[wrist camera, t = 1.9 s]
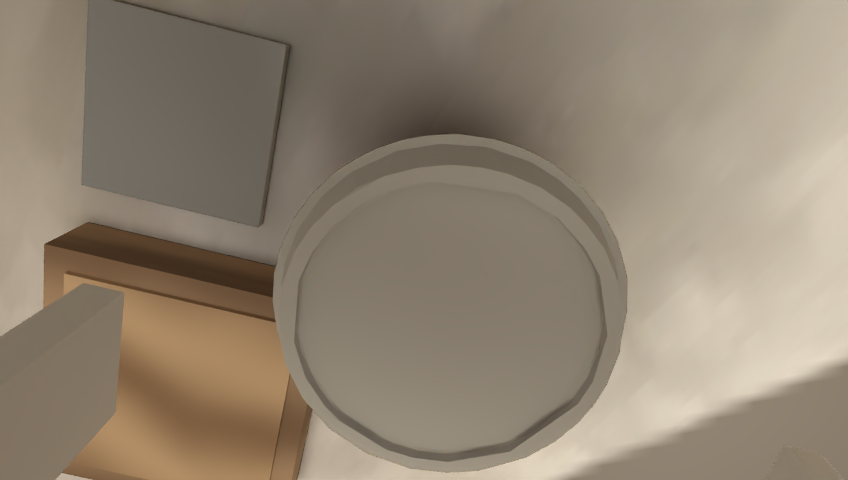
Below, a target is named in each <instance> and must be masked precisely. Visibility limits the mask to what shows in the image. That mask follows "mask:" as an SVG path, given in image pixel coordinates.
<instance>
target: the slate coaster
mask: <svg viewBox="0 0 848 480" xmlns="http://www.w3.org/2000/svg"><path fill="white" fill-rule="evenodd" d="M289 49H290V45H287V44H283V43H279V42H275V41H272V40H268V39H264V38H260V37H256V36H252V35H248V34H244V33H240V32H237V31H233V30H229V29H225V28H221V27H217V26H213V25H209V24H205V23H202V22H198V21H194V20H190V19H186V18H182V17H178V16H174V15H170V14H167V13H163V12H159V11H155V10H151V9H147V8H143V7H139V6H135V5H132V4H128V3H124V2H120V1H116V0H88V22H87V49H86V76H85V103H84V129H83V156H82V183H81V185H84V186H88V187H92V188H97V189H101V190H105V191H109V192H113V193H117V194H122V195H126V196H130V197H134V198H138V199H142V200H147V201H151V202H155V203H159V204H163V205H167V206H172V207H176V208H180V209H184V210H188V211H192V212H197V213H201V214H205V215H209V216H213V217H217V218H222V219H226V220H230V221H234V222H238V223H242V224H247V225H251V226H255V227H259V226H260V225H261V224H262V223H263V218H264V211H265V205H266V198H267V192H268V185H269V179H270V172H271V166H272V159H273V153H274V146H275V140H276V133H277V127H278V120H279V114H280V107H281V101H282V95H283V88H284V82H285V75H286V69H287V62H288V56H289Z"/></svg>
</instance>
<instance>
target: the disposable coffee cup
mask: <svg viewBox="0 0 848 480" xmlns="http://www.w3.org/2000/svg"><path fill="white" fill-rule="evenodd" d="M273 307H274V314H275V321H276V327H277V331H278V334H279V338H280V342H281V347H282V351H283V355H284V360H285V364H286V366H287V368H288V370H289V372H290V374H291V376H292V378H293V380H294V382H295V384H296V386H297V388H298V390H299V392H300V394H301V396H302V398H303V399H304V400H305V401H306V402H307V404H308V405H309V406H310V407H311V408H312V409H313V410H314V412H315V413H316V414H317V415H318V416H319V417H320V418H321V420H322V421H323V422H324V423H325V424H326V425H327V426H328V428H329V429H331V430H332V431H334V432H335V433H337V434H338V435H340V436H341V437H343V438H344V439H346V440H347V441H349V442H350V443H352V444H353V445H355V446H356V447H358V448H359V449H361V450H362V451H364V452H366V453H367V454H370V455H373V456H376V457H378V458H381V459H384V460H387V461H390V462H393V463H396V464H399V465H401V466H404V467H407V468H410V469H419V470H428V471H437V472H446V473H449V472H466V471H479V470H482V469H486V468H490V467H494V466H497V465H501V464H505V463H508V462H512V461H515V460H519V459H522V458H526V457H528V456H529V455H531V454H533V453H535V452H537V451H539V450H540V449H542V448H544V447H546V446H548V445H549V444H551V443H553V442H555V441H556V440H557V439H559V438H560V437H561V436H562V435H564V434H565V433H566V432H567V431H569V430H570V429H571V428H572V427H573V426H575V425H576V424H577V423H578V422H579V421H580V420H581V419H582V418H583V417H584V415H585V414H586V413H587V412H588V411H589V410H590V408H591V407H592V406H593V405H594V404H595V403H596V401H597V399H598V398H599V396H600V394H601V393H602V391H603V390H604V388H605V386H606V385H607V383H608V380H609V378H610V375H611V373H612V370H613V368H614V365H615V362H616V360H617V357H618V355H619V352H620V344H621V337H622V332H623V328H624V323H625V318H626V313H627V275H626V271H625V267H624V263H623V260H622V256H621V252H620V248H619V244H618V241H617V239H616V237H615V235H614V233H613V231H612V229H611V227H610V225H609V224H608V222H607V220H606V218H605V216H604V214H603V212H602V211H601V210H600V208H599V207H598V206H597V205H596V203H595V202H594V201H593V200H592V199H591V197H590V196H589V195H588V194H587V193H586V191H585V190H584V189H583V188H582V187H581V186H580V185H579V184H578V183H576V182H575V181H574V180H573V179H572V178H570V177H569V176H568V175H567V174H566V173H564V172H563V171H562V170H561V169H560V168H558V167H557V166H556V165H554V164H553V163H551V162H549V161H547V160H545V159H543V158H541V157H539V156H537V155H536V154H534V153H532V152H530V151H528V150H526V149H523V148H521V147H518V146H515V145H512V144H509V143H506V142H503V141H500V140H497V139H490V138H483V137H476V136H469V135H463V134H440V135H429V136H420V137H412V138H408V139H404V140H400V141H397V142H394V143H391V144H388V145H385V146H382V147H379V148H377V149H374V150H372V151H370V152H368V153H366V154H364V155H362V156H360V157H358V158H356V159H355V160H353V161H351V162H349V163H348V164H346V165H345V166H343V167H342V168H340V169H339V170H338V171H336V172H335V173H334V174H333V175H332V176H331V177H329V178H328V179H327V180H326V181H325V182H324V183H323V184H322V185H321V186H320V187H319V188H318V189H317V190H315V191H314V192H313V193H312V195H311V196H310V197H309V199H308V200H307V201H306V203H305V204H304V205H303V206H302V208H301V209H300V210H299V212H298V213H297V214H296V216H295V217H294V219H293V222H292V224H291V226H290V228H289V230H288V232H287V235H286V237H285V239H284V241H283V243H282V245H281V248H280V251H279V255H278V259H277V264H276V268H275V272H274V286H273Z"/></svg>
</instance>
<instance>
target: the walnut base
mask: <svg viewBox="0 0 848 480" xmlns="http://www.w3.org/2000/svg"><path fill="white" fill-rule="evenodd" d="M275 268H276V267H274V266H270V265H266V264H262V263H257V262H253V261H249V260H245V259H240V258H236V257H232V256H228V255H224V254H219V253H215V252H211V251H207V250H203V249H198V248H194V247H190V246H186V245H181V244H177V243H173V242H169V241H165V240H160V239H156V238H152V237H148V236H143V235H139V234H135V233H131V232H127V231H122V230H118V229H114V228H110V227H105V226H101V225H97V224H93V223H89V222H87V223H85V224H83V225H81V226H79V227H77V228H75V229H73V230H71V231H69V232H67V233H65V234H64V235H62V236H60V237H58V238H56V239H54V240H52V241H50V242H48V243H46V244H44V306H43V309H44V308H45V307H47V306H49V305H50V304H52V303H53V302H55V301H56V300H58V299H59V298H61V297H62V296H64V295H66V294H67V293H69V292H70V291H72V290H73V289H75V288H76V287H78V286H80V285H81V284H83V283H86V284H91V285H95V286H99V287H104V288H108V289H112V290H117V291H121V292H125V293H124V306H123V320H122V333H121V346H120V359H119V372H118V385H117V398H116V411H115V414H114V415H113V416H112V417H111V419H110V420H109V421H108V422H107V423H106V424H105V425H104V426H103V427H102V429H101V430H100V431H99V432H98V433H97V434H96V435H95V436H94V437H93V438H92V440H91V441H90V442H89V443H88V444H87V445H86V446H85V447H84V448H83V450H82V451H81V452H80V453H79V454H78V455H77V456H76V457H75V458H74V460H73V461H72V462H71V463H70V464H69V465H68V466H67V467H66V468H65V470H64V471H63V472H62V473H65V474H69V475H74V476H79V477H83V478H88V479H93V480H297V478H298V474H299V469H300V465H301V460H302V455H303V450H304V446H305V441H306V436H307V432H308V427H309V422H310V417H311V413H312V408H311V407H310V406H309V405H308V404H307V402H306V401H305V400H304V399H303V398H302V396H301V394H300V392H299V390H298V388H297V386H296V384H295V382H294V380H293V378H292V376H291V374H290V372H289V370H288V368H287V366H286V364H285V360H284V355H283V351H282V347H281V342H280V338H279V334H278V331H277V327H276V321H275V314H274V307H273V286H274V272H275Z"/></svg>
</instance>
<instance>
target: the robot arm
mask: <svg viewBox="0 0 848 480" xmlns="http://www.w3.org/2000/svg"><path fill="white" fill-rule="evenodd" d="M124 293H125V292H121V291H117V290H112V289H108V288H104V287H99V286H95V285H91V284H86V283H83V284H81V285H80V286H78V287H76V288H75V289H73V290H72V291H70V292H69V293H67V294H66V295H64V296H62V297H61V298H59V299H58V300H56V301H55V302H53V303H52V304H50V305H49V306H47V307H45V308H44V309H42V310H41V311H39V312H38V313H36V314H35V315H33V316H32V317H30V318H28V319H27V320H25V321H24V322H22V323H21V324H19V325H18V326H16V327H15V328H13V329H11V330H10V331H8V332H7V333H5V334H4V335H2V336H1V337H0V480H55V479H56V478H57V477H58V476H59V475H60V474H61V473H62V472H63V471H64V470H65V468H66V467H67V466H68V465H69V464H70V463H71V462H72V461H73V460H74V458H75V457H76V456H77V455H78V454H79V453H80V452H81V451H82V450H83V448H84V447H85V446H86V445H87V444H88V443H89V442H90V441H91V440H92V438H93V437H94V436H95V435H96V434H97V433H98V432H99V431H100V430H101V429H102V427H103V426H104V425H105V424H106V423H107V422H108V421H109V420H110V419H111V417H112V416H113V415H114V414H115V411H116V398H117V385H118V372H119V359H120V346H121V333H122V320H123V306H124ZM765 480H845V479H844V478H843V477H842V476H841V475H840V474H839V473H838V472H837V471H836V470H835V469H834V468H833V466H832V465H831V464H830V463H829V462H828V461H827V460H826V459H825V458H824V457H823V456H822V455H821V454H820V453H816V452H812V451H807V450H803V449H799V448H794V447H790V446H786V445H784V446H783V448H782V450H781V452H780V453H779V455H778V457H777V459H776V461H775V462H774V464H773V466H772V468H771V470H770V471H769V473H768V475H767V477H766V479H765Z"/></svg>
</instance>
